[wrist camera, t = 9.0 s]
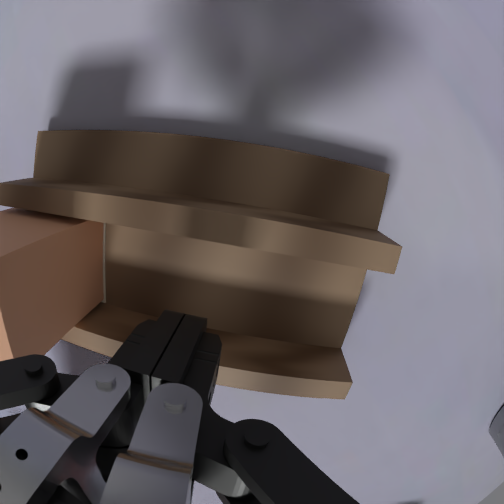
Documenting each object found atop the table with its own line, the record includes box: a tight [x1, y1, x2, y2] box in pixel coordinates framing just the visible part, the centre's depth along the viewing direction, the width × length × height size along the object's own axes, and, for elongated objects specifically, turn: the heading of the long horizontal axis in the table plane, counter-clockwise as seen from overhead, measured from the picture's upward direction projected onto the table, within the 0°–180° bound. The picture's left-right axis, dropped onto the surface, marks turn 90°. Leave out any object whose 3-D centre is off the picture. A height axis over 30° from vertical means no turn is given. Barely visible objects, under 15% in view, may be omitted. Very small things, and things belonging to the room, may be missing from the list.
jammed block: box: [0, 208, 104, 361], centre depth 11 cm, size 6×5×8 cm
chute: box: [0, 130, 402, 399], centre depth 14 cm, size 20×14×4 cm
